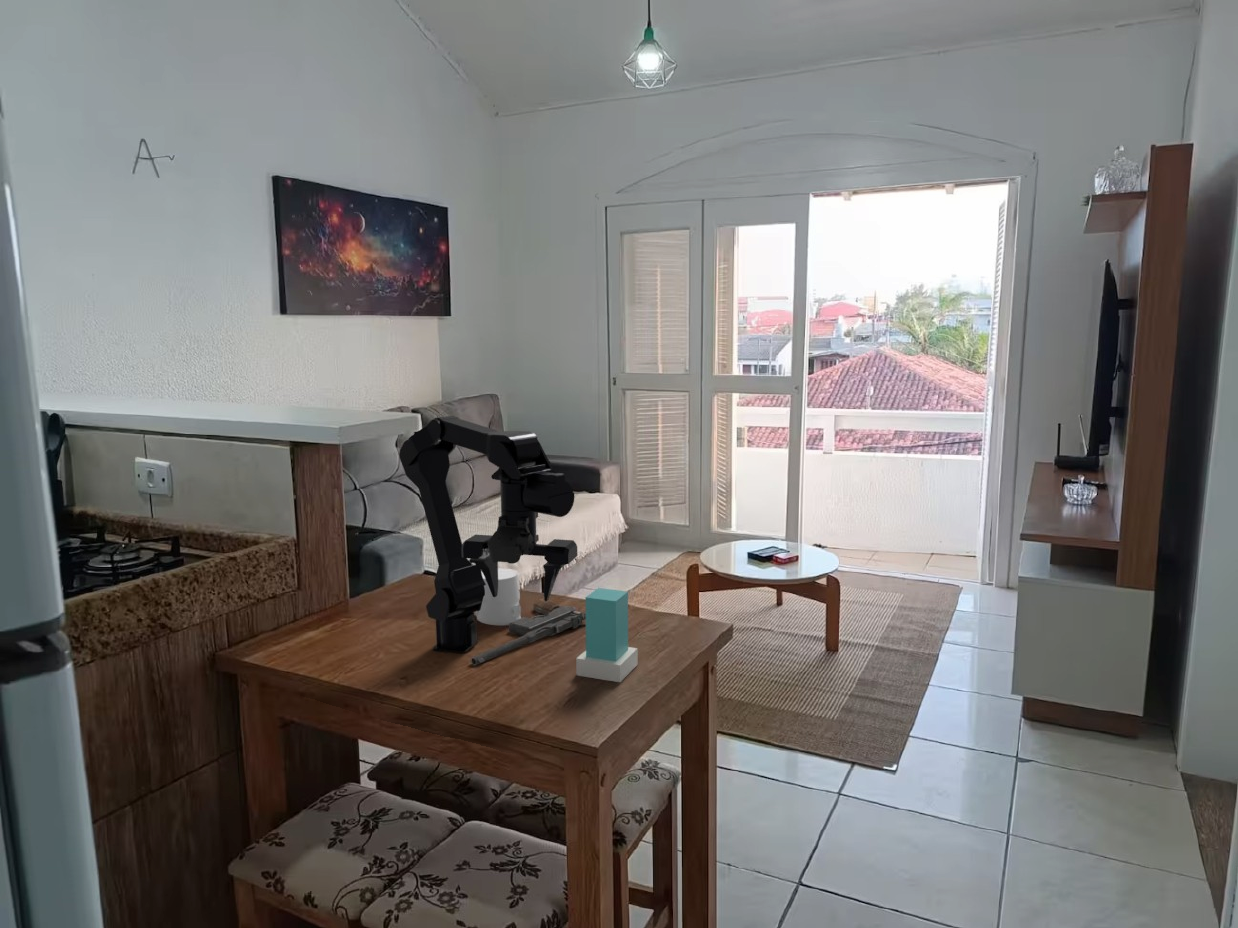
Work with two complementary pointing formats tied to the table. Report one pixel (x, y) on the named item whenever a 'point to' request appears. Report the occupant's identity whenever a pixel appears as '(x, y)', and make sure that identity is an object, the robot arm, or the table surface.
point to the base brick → (607, 666)
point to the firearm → (536, 627)
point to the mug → (501, 600)
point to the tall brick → (606, 624)
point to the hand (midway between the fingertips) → (520, 598)
